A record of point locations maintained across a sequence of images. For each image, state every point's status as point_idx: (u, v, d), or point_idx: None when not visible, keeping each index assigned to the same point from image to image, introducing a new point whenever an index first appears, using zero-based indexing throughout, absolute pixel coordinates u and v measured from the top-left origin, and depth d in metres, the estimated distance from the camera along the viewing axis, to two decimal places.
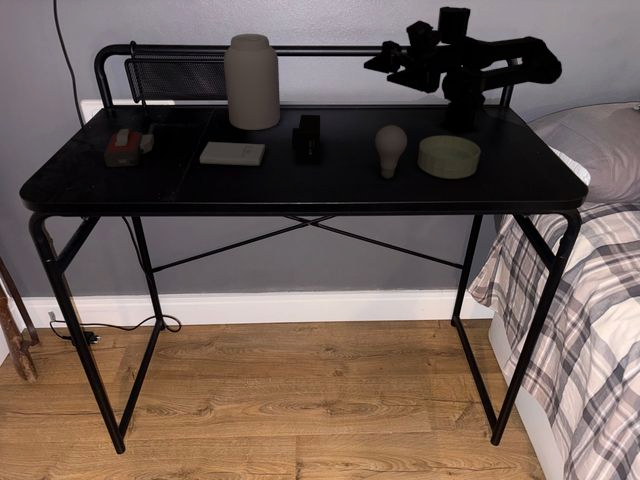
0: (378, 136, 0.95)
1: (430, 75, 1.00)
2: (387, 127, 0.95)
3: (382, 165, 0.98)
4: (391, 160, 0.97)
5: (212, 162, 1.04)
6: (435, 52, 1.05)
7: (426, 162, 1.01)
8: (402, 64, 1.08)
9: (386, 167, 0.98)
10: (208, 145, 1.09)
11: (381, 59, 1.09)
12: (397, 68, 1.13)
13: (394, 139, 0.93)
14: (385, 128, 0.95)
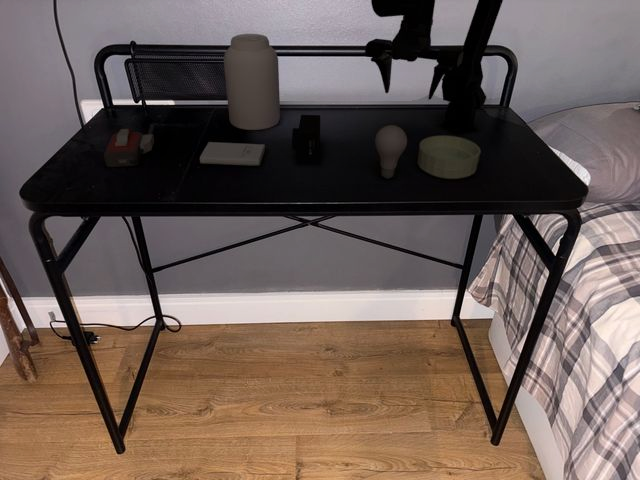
0: (378, 136, 0.95)
1: None
2: (387, 127, 0.95)
3: (382, 165, 0.98)
4: (391, 160, 0.97)
5: (212, 162, 1.04)
6: (425, 32, 0.95)
7: (426, 162, 1.01)
8: None
9: (386, 167, 0.98)
10: (208, 145, 1.09)
11: (387, 71, 1.03)
12: (391, 44, 1.03)
13: (394, 139, 0.93)
14: (385, 128, 0.95)
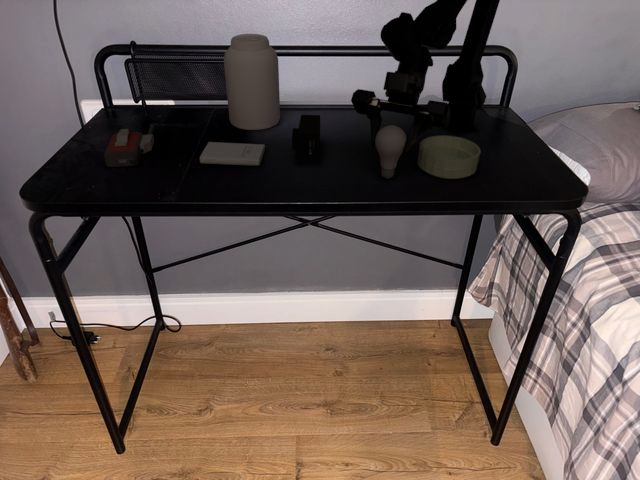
0: (378, 136, 0.95)
1: (444, 120, 0.93)
2: (387, 127, 0.95)
3: (382, 165, 0.98)
4: (391, 160, 0.97)
5: (212, 162, 1.04)
6: None
7: (426, 162, 1.01)
8: (391, 110, 0.97)
9: (386, 167, 0.98)
10: (208, 145, 1.09)
11: (377, 123, 0.97)
12: None
13: (394, 139, 0.93)
14: (385, 128, 0.95)
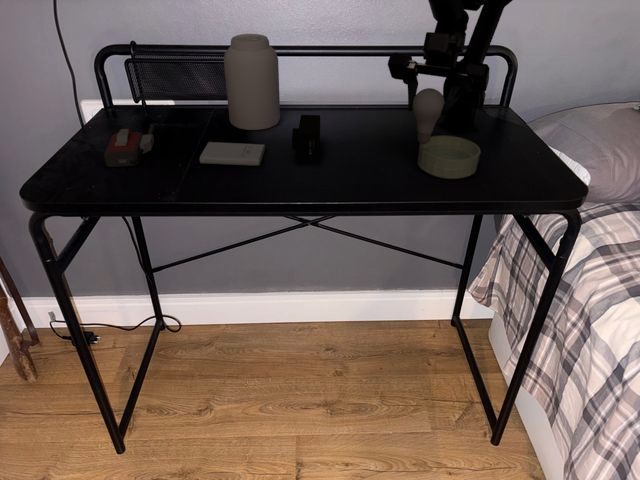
0: (416, 99, 0.94)
1: (483, 81, 0.92)
2: (425, 90, 0.93)
3: (419, 130, 0.97)
4: (428, 124, 0.95)
5: (212, 162, 1.04)
6: None
7: (426, 162, 1.01)
8: (429, 74, 0.96)
9: (423, 131, 0.97)
10: (208, 145, 1.09)
11: (414, 87, 0.96)
12: None
13: (432, 102, 0.92)
14: (423, 91, 0.94)
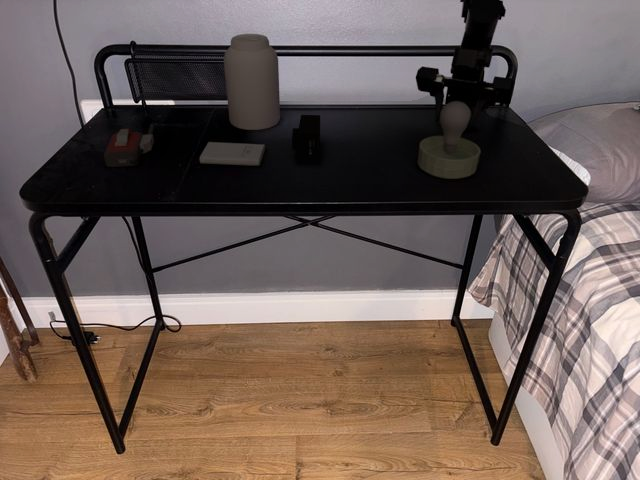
0: (444, 112, 0.98)
1: (509, 95, 0.96)
2: (453, 103, 0.97)
3: (445, 140, 1.01)
4: (455, 135, 0.99)
5: (212, 162, 1.04)
6: None
7: (426, 162, 1.01)
8: (455, 87, 1.00)
9: (449, 142, 1.01)
10: (208, 145, 1.09)
11: (441, 99, 1.00)
12: None
13: (460, 115, 0.96)
14: (451, 104, 0.97)
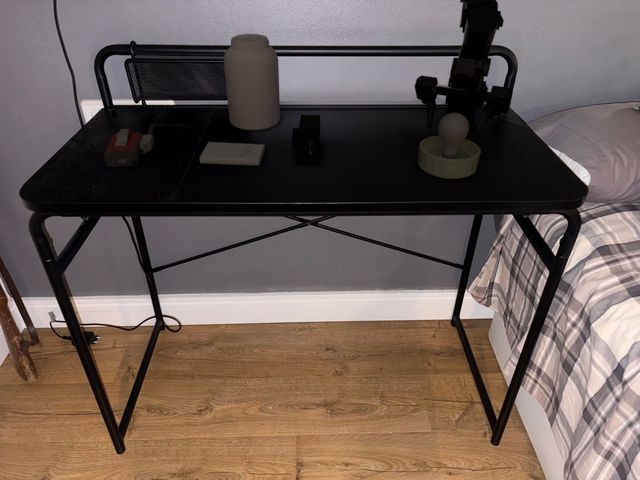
0: (442, 123, 0.99)
1: (507, 104, 0.97)
2: (451, 114, 0.99)
3: (443, 151, 1.03)
4: (453, 146, 1.01)
5: (212, 162, 1.04)
6: None
7: (426, 162, 1.01)
8: (454, 96, 1.01)
9: (448, 153, 1.02)
10: (208, 145, 1.09)
11: (433, 107, 1.01)
12: None
13: (458, 126, 0.98)
14: (449, 115, 0.99)
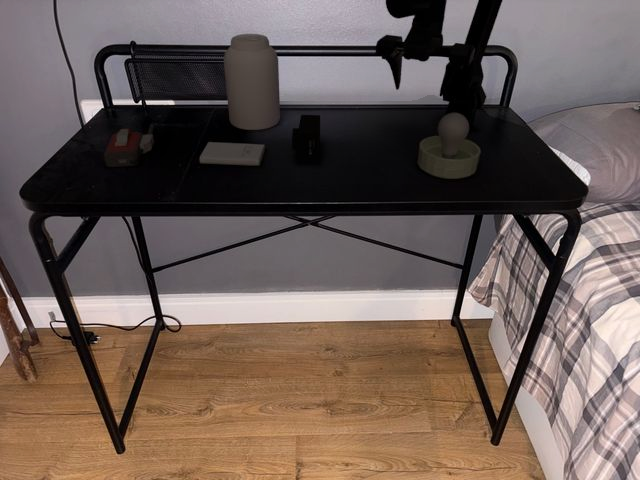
0: (442, 123, 0.99)
1: None
2: (451, 114, 0.99)
3: (443, 151, 1.03)
4: (453, 146, 1.01)
5: (212, 162, 1.04)
6: (437, 30, 0.94)
7: (426, 162, 1.01)
8: None
9: (448, 153, 1.02)
10: (208, 145, 1.09)
11: (398, 68, 1.03)
12: (401, 40, 1.03)
13: (458, 126, 0.98)
14: (449, 115, 0.99)
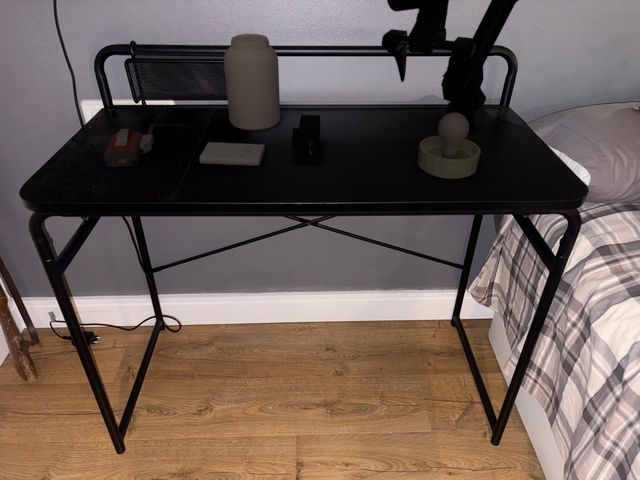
0: (442, 123, 0.99)
1: None
2: (451, 114, 0.99)
3: (443, 151, 1.03)
4: (453, 146, 1.01)
5: (212, 162, 1.04)
6: (440, 24, 0.99)
7: (426, 162, 1.01)
8: None
9: (448, 153, 1.02)
10: (208, 145, 1.09)
11: (402, 61, 1.07)
12: (406, 34, 1.07)
13: (458, 126, 0.98)
14: (449, 115, 0.99)
